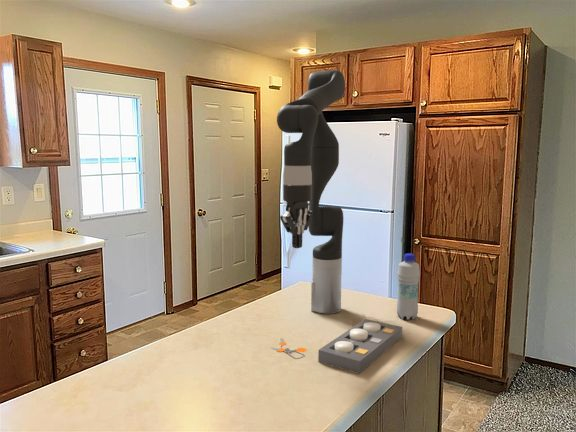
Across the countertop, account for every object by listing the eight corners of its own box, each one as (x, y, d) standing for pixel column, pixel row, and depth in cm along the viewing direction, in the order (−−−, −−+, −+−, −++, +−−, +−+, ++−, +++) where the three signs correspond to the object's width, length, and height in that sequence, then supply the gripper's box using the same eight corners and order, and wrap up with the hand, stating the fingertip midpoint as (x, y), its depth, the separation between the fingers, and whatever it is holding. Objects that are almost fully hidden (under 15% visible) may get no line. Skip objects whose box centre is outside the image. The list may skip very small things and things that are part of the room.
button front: (347, 358, 115) (348, 350, 114) (331, 353, 117) (331, 345, 117) (356, 351, 118) (356, 343, 118) (340, 347, 121) (340, 339, 121)
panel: (359, 373, 110) (359, 360, 110) (318, 361, 116) (318, 349, 116) (401, 337, 131) (402, 326, 131) (365, 328, 138) (365, 318, 137)
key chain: (315, 353, 122) (315, 350, 122) (293, 362, 117) (293, 358, 117) (283, 338, 131) (283, 335, 131) (261, 346, 127) (261, 342, 126)
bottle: (416, 313, 150) (418, 251, 147) (420, 321, 143) (422, 256, 141) (394, 313, 151) (396, 250, 148) (397, 320, 144) (399, 255, 141)
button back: (376, 336, 128) (376, 329, 127) (360, 333, 130) (360, 326, 130) (383, 331, 131) (383, 324, 131) (367, 327, 134) (367, 321, 134)
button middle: (362, 344, 121) (362, 336, 121) (346, 340, 124) (346, 332, 123) (370, 338, 125) (370, 331, 125) (354, 334, 127) (354, 327, 127)
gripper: (299, 180, 133) (299, 242, 136) (270, 183, 123) (271, 250, 125) (322, 182, 129) (321, 245, 132) (295, 185, 118) (295, 253, 121)
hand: (297, 247), depth 128 cm, fingers closed
